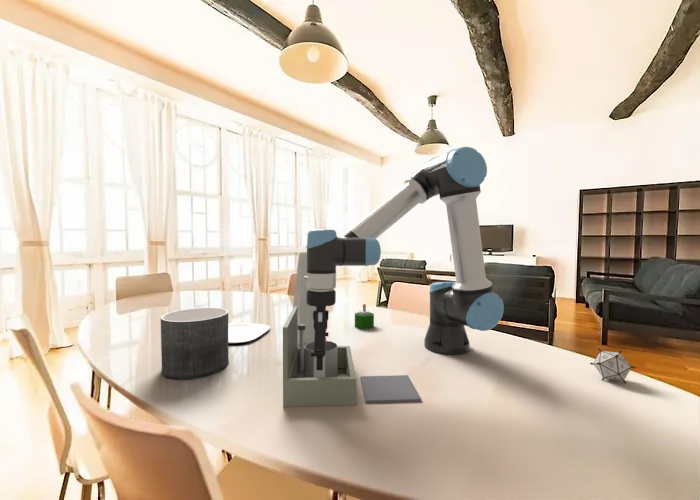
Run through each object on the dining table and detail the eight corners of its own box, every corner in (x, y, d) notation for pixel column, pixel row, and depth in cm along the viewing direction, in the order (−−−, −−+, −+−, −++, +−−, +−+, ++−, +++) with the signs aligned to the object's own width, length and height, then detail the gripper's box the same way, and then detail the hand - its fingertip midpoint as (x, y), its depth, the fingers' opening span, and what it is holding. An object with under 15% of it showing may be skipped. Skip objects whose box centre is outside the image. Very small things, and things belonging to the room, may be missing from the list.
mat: (407, 377, 87) (407, 375, 87) (421, 401, 74) (421, 398, 74) (360, 378, 86) (360, 376, 86) (365, 403, 73) (365, 400, 73)
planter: (241, 361, 98) (241, 310, 98) (191, 385, 82) (190, 324, 82) (200, 352, 106) (200, 305, 105) (147, 373, 90) (146, 317, 89)
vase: (332, 345, 113) (332, 252, 112) (302, 352, 106) (302, 253, 105) (316, 337, 123) (316, 251, 122) (288, 342, 117) (287, 252, 115)
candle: (353, 328, 135) (353, 305, 134) (356, 323, 143) (356, 301, 142) (372, 329, 133) (373, 306, 133) (374, 324, 141) (374, 302, 141)
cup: (332, 392, 78) (332, 352, 78) (300, 389, 80) (300, 350, 80) (340, 378, 86) (340, 341, 86) (311, 375, 88) (311, 339, 88)
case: (350, 366, 95) (350, 305, 94) (355, 404, 72) (356, 326, 72) (294, 367, 94) (294, 306, 93) (283, 407, 71) (282, 327, 71)
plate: (220, 325, 140) (220, 322, 140) (275, 328, 137) (275, 324, 137) (182, 344, 115) (182, 339, 115) (249, 348, 112) (248, 343, 112)
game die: (613, 391, 87) (632, 361, 88) (628, 393, 80) (649, 360, 80) (578, 369, 91) (597, 340, 92) (589, 369, 83) (609, 338, 84)
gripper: (309, 282, 95) (309, 353, 95) (302, 297, 70) (301, 393, 70) (335, 282, 95) (334, 353, 96) (336, 297, 70) (335, 392, 71)
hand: (320, 370), depth 83 cm, fingers open, 13 cm apart
